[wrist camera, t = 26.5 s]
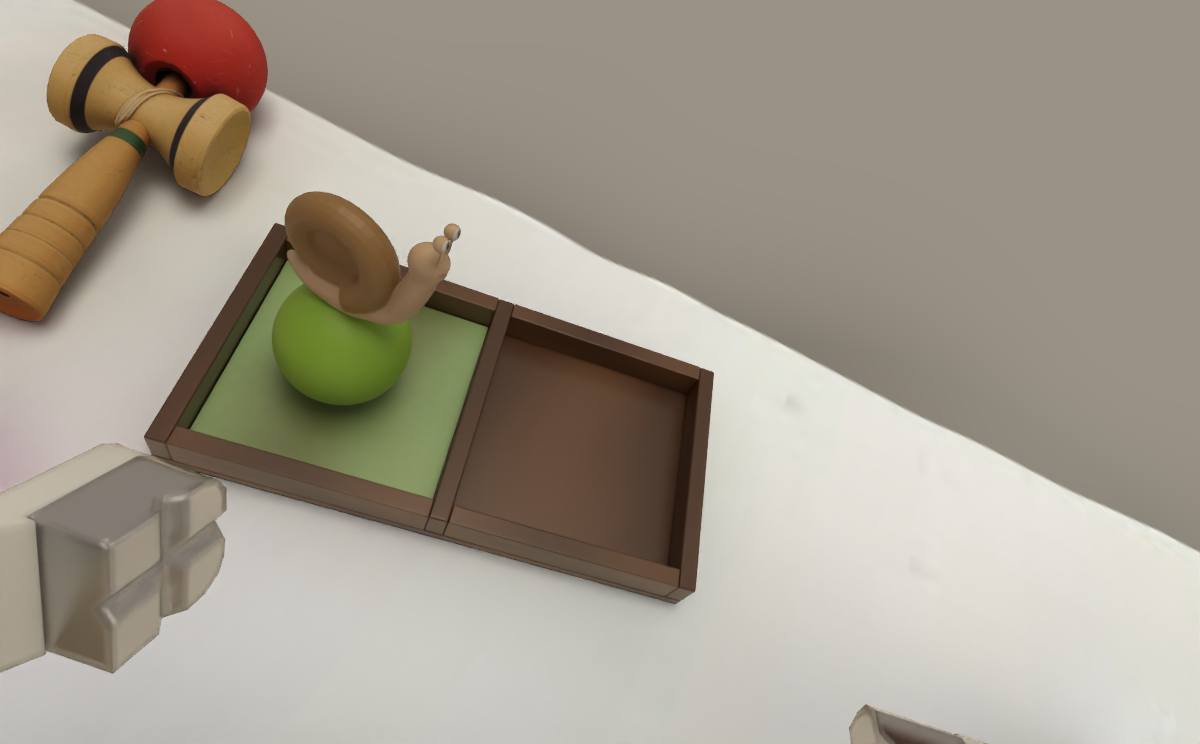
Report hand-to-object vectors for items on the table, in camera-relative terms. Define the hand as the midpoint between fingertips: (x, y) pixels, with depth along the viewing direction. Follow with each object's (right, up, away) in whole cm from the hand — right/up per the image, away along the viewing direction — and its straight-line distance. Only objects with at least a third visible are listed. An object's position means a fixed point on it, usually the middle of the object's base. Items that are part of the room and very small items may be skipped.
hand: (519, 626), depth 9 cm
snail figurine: (-10, +3, +23) cm, 25 cm away
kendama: (-21, +12, +26) cm, 35 cm away
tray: (-5, +1, +24) cm, 25 cm away
